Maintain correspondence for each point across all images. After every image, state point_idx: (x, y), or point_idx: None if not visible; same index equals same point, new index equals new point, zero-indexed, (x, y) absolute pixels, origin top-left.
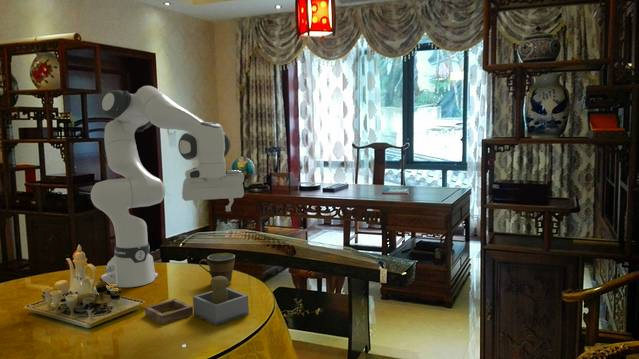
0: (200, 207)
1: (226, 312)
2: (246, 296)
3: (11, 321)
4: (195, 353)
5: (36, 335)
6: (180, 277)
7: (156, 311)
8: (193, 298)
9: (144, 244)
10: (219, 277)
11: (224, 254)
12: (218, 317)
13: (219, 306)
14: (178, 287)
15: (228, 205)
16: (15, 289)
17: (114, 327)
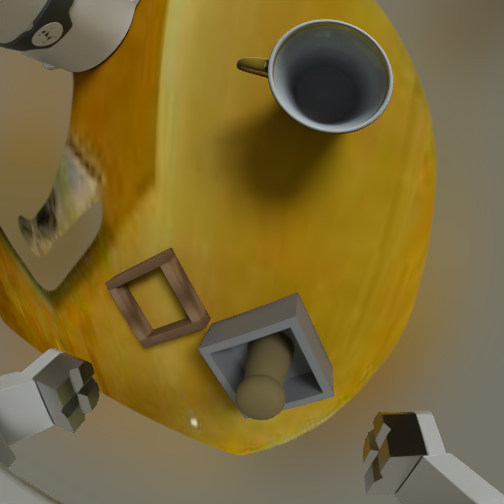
0: (49, 393)
1: None
2: (328, 397)
3: None
4: (210, 445)
5: (3, 282)
6: (202, 5)
7: (129, 317)
8: (200, 347)
9: (39, 8)
10: (258, 412)
11: (351, 30)
12: None
13: None
14: (186, 92)
15: (414, 477)
16: None
17: (77, 308)
